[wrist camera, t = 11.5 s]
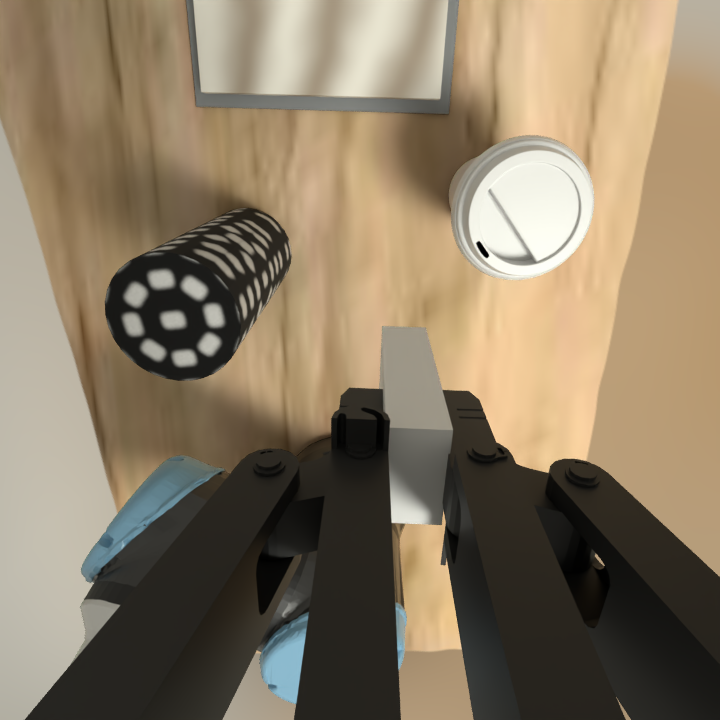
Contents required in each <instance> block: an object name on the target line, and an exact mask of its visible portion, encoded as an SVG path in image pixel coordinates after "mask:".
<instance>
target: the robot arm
mask: <svg viewBox="0 0 720 720" xmlns="http://www.w3.org/2000/svg"><path fill="white" fill-rule="evenodd" d="M443 509H444V514H445V520H446V526H445V534H444V542H443V550H442V558H441V565H446V558H447V562H448V568H449V574H450V580H451V586H452V592H453V598H454V604H455V610H456V616H457V622H458V628H459V634H460V640H461V646H462V652H463V658H464V664H465V670H466V676H467V682H468V688H469V693H470V700H471V706H472V712H473V718H474V720H626V719H625V717H624V715H623V712H622V710H621V708H620V705H619V703H618V701H617V698H618V700H619V702H620V703H621V705H622V706H623V708H624V709H625V711H626V712H627V714H628V715H629V717H630V718H631V720H720V577H719V576H718V575H717V574H716V573H715V572H714V571H713V570H712V569H710V568H709V567H708V566H707V565H706V564H705V563H704V562H703V561H702V560H701V559H700V558H699V557H698V556H697V555H696V554H694V553H693V552H692V551H691V550H690V549H689V548H688V547H687V546H686V545H684V543H683V542H682V541H680V540H679V539H678V538H677V537H676V536H675V535H674V534H673V533H672V532H671V531H670V530H669V529H668V528H667V527H665V526H664V525H663V524H662V523H661V522H660V521H659V520H658V519H657V518H656V517H655V516H653V514H651V513H650V512H649V511H648V510H647V509H646V508H645V507H644V506H643V505H642V504H641V503H639V501H638V500H636V499H635V498H634V497H633V496H632V495H631V494H630V493H629V492H628V491H627V490H626V489H624V488H623V487H622V486H621V485H620V484H619V483H618V482H617V481H616V480H615V479H614V478H613V477H612V476H611V475H609V474H608V473H607V472H606V471H604V470H603V469H601V468H600V467H598V466H596V465H594V464H591V463H589V462H587V461H583V460H578V459H562V460H558V461H555V462H554V463H553V464H552V465H551V466H550V470H549V473H546V472H542V471H537V470H533V469H529V468H526V467H523V466H520V465H518V464H516V463H515V460H514V458H513V456H512V454H511V453H510V452H509V450H508V449H507V448H505V447H504V446H502V445H500V444H499V443H496V441H495V438H494V436H493V433H492V431H491V428H490V426H489V423H488V421H487V420H486V416H485V413H484V411H483V408H482V406H481V403H480V401H479V399H478V398H476V397H475V396H474V395H473V394H472V393H470V392H469V391H452V390H442V387H441V383H440V379H439V375H438V372H437V368H436V364H435V360H434V357H433V353H432V349H431V345H430V342H429V338H428V334H427V330H426V328H421V327H394V326H382V343H381V363H380V383H379V389H365V388H349V389H348V390H347V391H346V392H345V393H344V394H342V395H341V400H340V407H339V410H337V411H336V412H334V414H333V416H332V418H331V437H330V438H326V439H323V440H320V441H318V442H316V443H314V444H312V445H310V446H309V447H307V448H306V449H304V450H303V451H302V452H301V453H300V454H299V455H298V456H297V457H296V456H294V455H293V454H292V453H291V452H288V451H285V450H282V449H264V450H258V451H256V452H254V453H251V454H249V455H248V456H246V457H245V458H244V459H243V460H241V462H240V463H239V464H238V465H237V466H236V468H235V469H234V470H233V471H232V472H231V474H229V473H227V472H225V469H223V468H215V467H213V466H211V465H208V464H206V463H204V462H201V461H199V460H197V459H195V458H192V457H190V456H185V455H179V456H174V457H171V458H169V459H167V460H166V461H165V462H163V463H162V464H161V465H160V466H159V467H158V468H157V469H156V470H155V471H154V472H153V473H152V474H151V475H150V476H149V477H148V478H147V479H146V480H145V482H144V483H143V484H142V485H141V486H140V487H139V488H138V490H137V491H136V492H135V493H134V494H133V496H132V497H131V498H130V499H129V500H128V502H127V503H126V504H125V505H124V507H123V508H122V509H121V510H120V512H119V513H118V514H117V516H116V517H115V518H114V519H113V521H112V522H111V523H110V525H109V526H108V528H107V530H106V532H105V533H104V534H103V535H102V537H101V538H100V540H99V541H98V542H97V543H96V544H95V546H94V547H93V549H92V550H91V551H90V553H89V554H88V556H87V557H86V559H85V561H84V563H83V565H82V568H81V573H82V575H83V576H84V577H85V578H86V581H87V582H90V583H91V582H93V583H94V584H93V586H92V587H91V589H90V591H89V592H88V594H87V596H86V597H85V599H84V601H83V602H82V604H81V606H80V607H81V612H82V617H83V621H84V626H85V641H84V643H83V644H82V646H81V648H80V649H79V651H78V653H77V654H76V656H75V658H74V660H73V661H72V663H71V665H70V666H69V667H68V669H67V670H66V671H65V672H64V673H63V675H62V676H61V677H60V678H59V679H58V680H57V682H56V683H55V684H54V685H53V686H52V688H51V689H50V690H49V691H48V692H47V694H46V695H45V696H44V697H43V698H42V700H41V701H40V702H39V703H38V705H37V706H36V707H35V708H34V709H33V710H32V712H31V713H30V714H29V715H28V717H27V718H26V719H25V720H222V719H223V717H224V715H225V713H226V711H227V709H228V707H229V705H230V703H231V701H232V699H233V697H234V695H235V693H236V691H237V689H238V687H239V685H240V683H241V681H242V679H243V677H244V675H245V673H246V671H247V668H248V667H249V665H250V662H251V660H252V658H253V656H254V654H255V652H256V650H258V651H260V652H262V653H261V655H260V659H259V660H260V668H261V675H262V678H263V680H264V682H265V683H266V684H268V687H269V689H270V690H271V691H272V692H273V693H274V694H275V695H277V696H278V697H280V698H282V699H284V700H286V701H288V702H291V703H294V704H296V709H295V716H294V720H401V716H400V715H401V714H400V692H399V669H400V667H401V664H402V662H403V657H404V651H405V626H406V621H407V619H406V618H407V617H406V612H405V610H404V596H403V583H402V570H401V555H400V536H401V534H402V531H403V529H404V526H405V524H406V523H407V524H431V525H442V517H443ZM595 553H596V554H597V555H598V556H599V557H600V558H601V560H602V561H603V563H604V565H605V566H603V565H602V564H601V563H600V562H599V561H598V560H597V559H596V557H595ZM616 697H617V698H616Z"/></svg>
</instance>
